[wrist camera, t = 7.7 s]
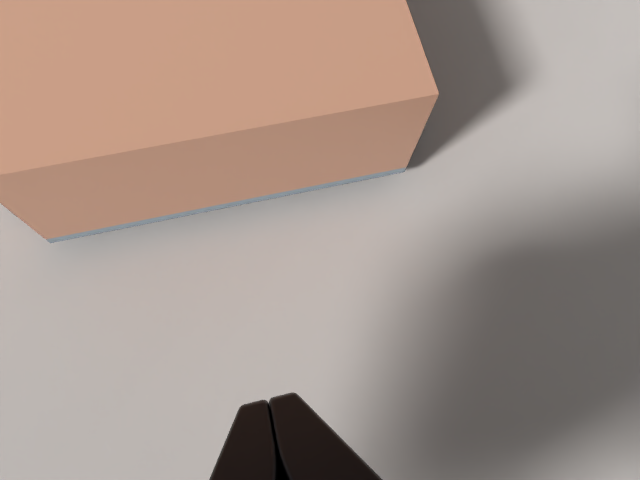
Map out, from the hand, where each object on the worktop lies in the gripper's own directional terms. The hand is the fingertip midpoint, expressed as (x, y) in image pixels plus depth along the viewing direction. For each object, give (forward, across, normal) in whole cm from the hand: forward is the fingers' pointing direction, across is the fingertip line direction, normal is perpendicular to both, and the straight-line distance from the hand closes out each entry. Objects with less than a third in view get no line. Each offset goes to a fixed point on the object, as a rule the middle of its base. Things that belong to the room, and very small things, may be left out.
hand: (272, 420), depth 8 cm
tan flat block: (+7, 0, -2) cm, 7 cm away
